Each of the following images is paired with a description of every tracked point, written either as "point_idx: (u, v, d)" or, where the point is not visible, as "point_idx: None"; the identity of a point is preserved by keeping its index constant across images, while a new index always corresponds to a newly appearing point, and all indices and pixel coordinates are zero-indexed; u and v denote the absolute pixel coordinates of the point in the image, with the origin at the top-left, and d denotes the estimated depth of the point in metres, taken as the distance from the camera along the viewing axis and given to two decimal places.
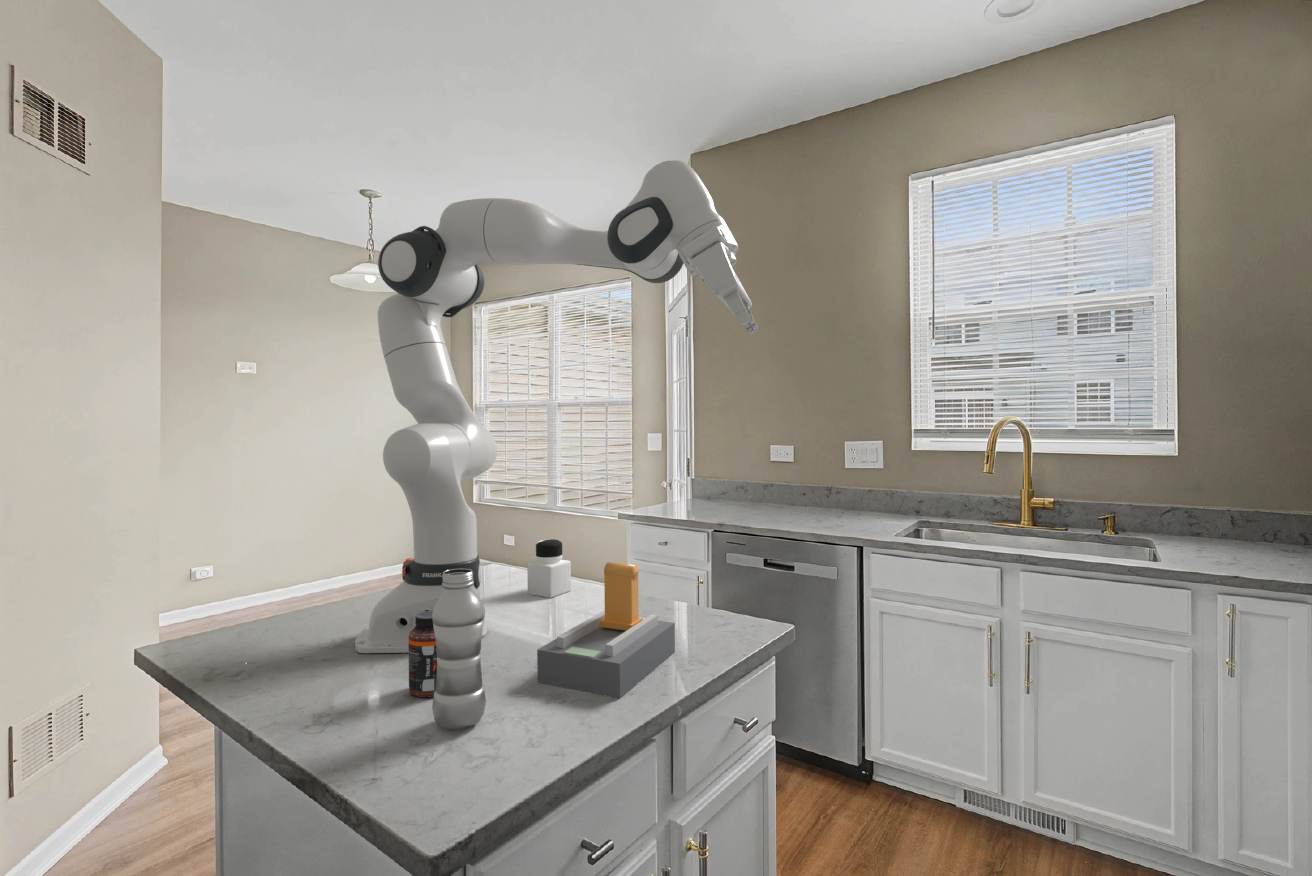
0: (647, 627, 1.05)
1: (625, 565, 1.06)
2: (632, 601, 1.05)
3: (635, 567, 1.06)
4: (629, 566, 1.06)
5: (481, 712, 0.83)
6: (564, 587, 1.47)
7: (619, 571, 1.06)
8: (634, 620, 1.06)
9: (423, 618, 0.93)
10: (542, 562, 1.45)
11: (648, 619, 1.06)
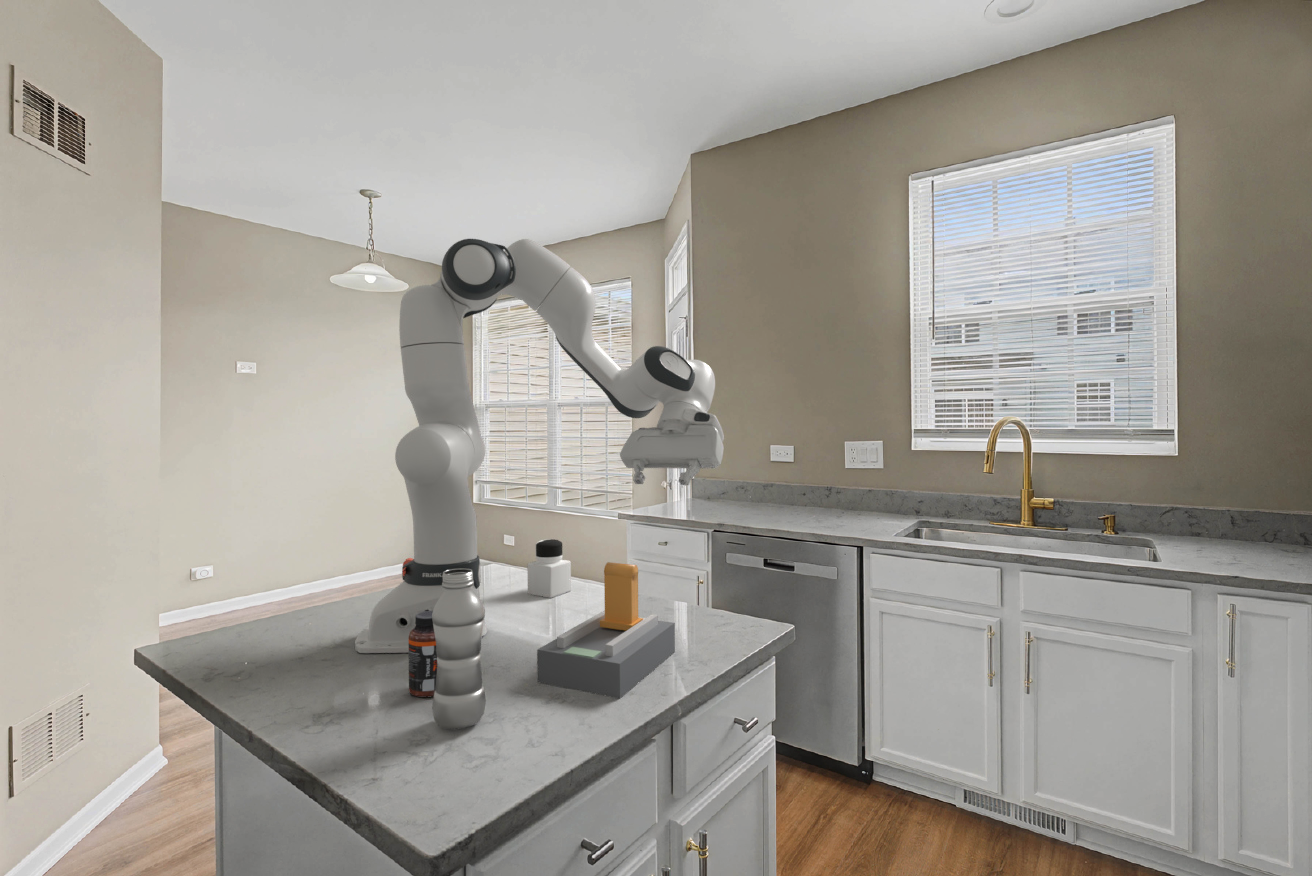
0: (647, 627, 1.05)
1: (625, 565, 1.06)
2: (632, 601, 1.05)
3: (635, 567, 1.06)
4: (629, 566, 1.06)
5: (481, 712, 0.83)
6: (564, 587, 1.47)
7: (619, 571, 1.06)
8: (634, 620, 1.06)
9: (423, 618, 0.93)
10: (542, 562, 1.45)
11: (648, 619, 1.06)
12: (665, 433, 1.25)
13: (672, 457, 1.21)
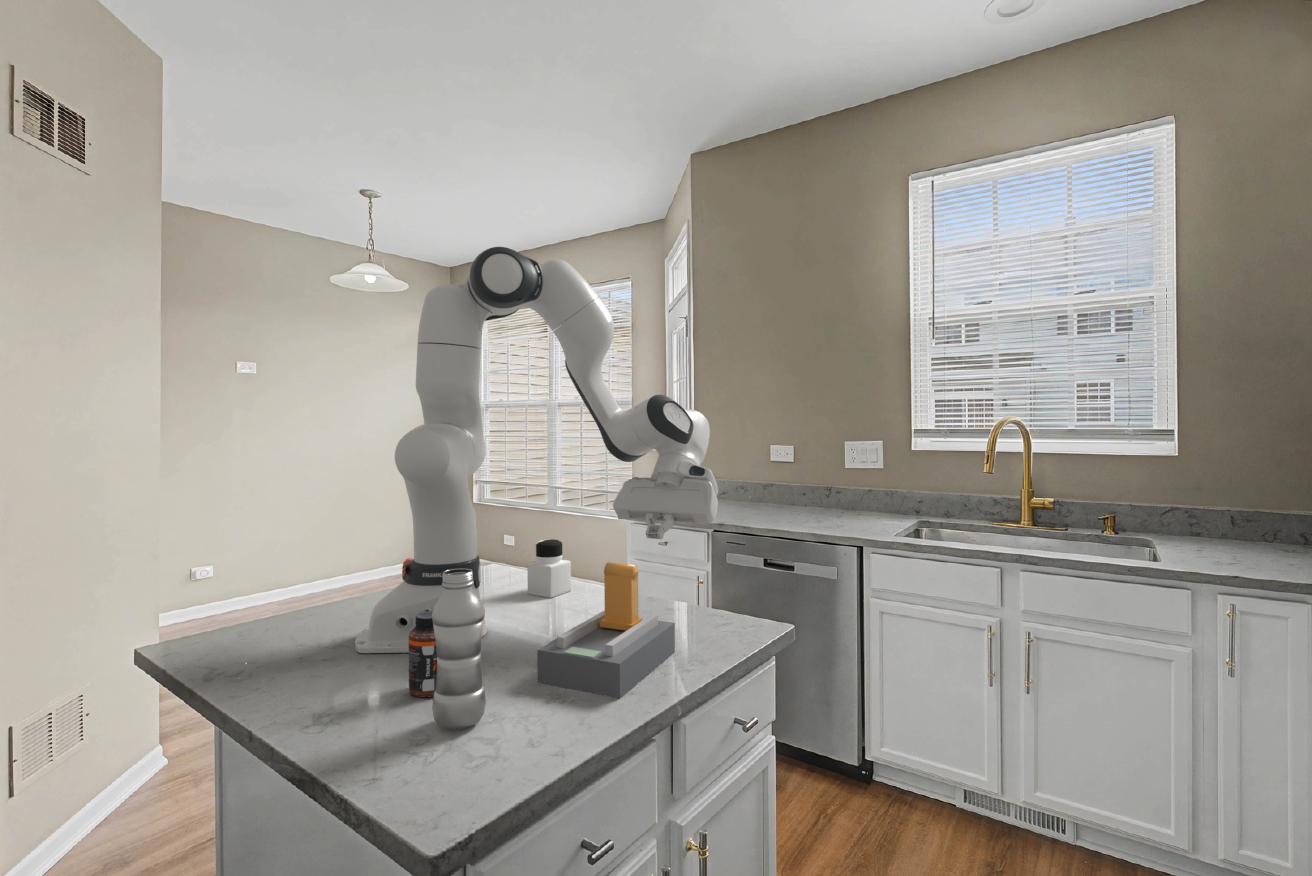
0: (647, 627, 1.05)
1: (625, 565, 1.06)
2: (632, 601, 1.05)
3: (635, 567, 1.06)
4: (629, 566, 1.06)
5: (481, 712, 0.83)
6: (564, 587, 1.47)
7: (619, 571, 1.06)
8: (634, 620, 1.06)
9: (423, 618, 0.93)
10: (542, 562, 1.45)
11: (648, 619, 1.06)
12: (659, 485, 1.25)
13: (666, 511, 1.20)
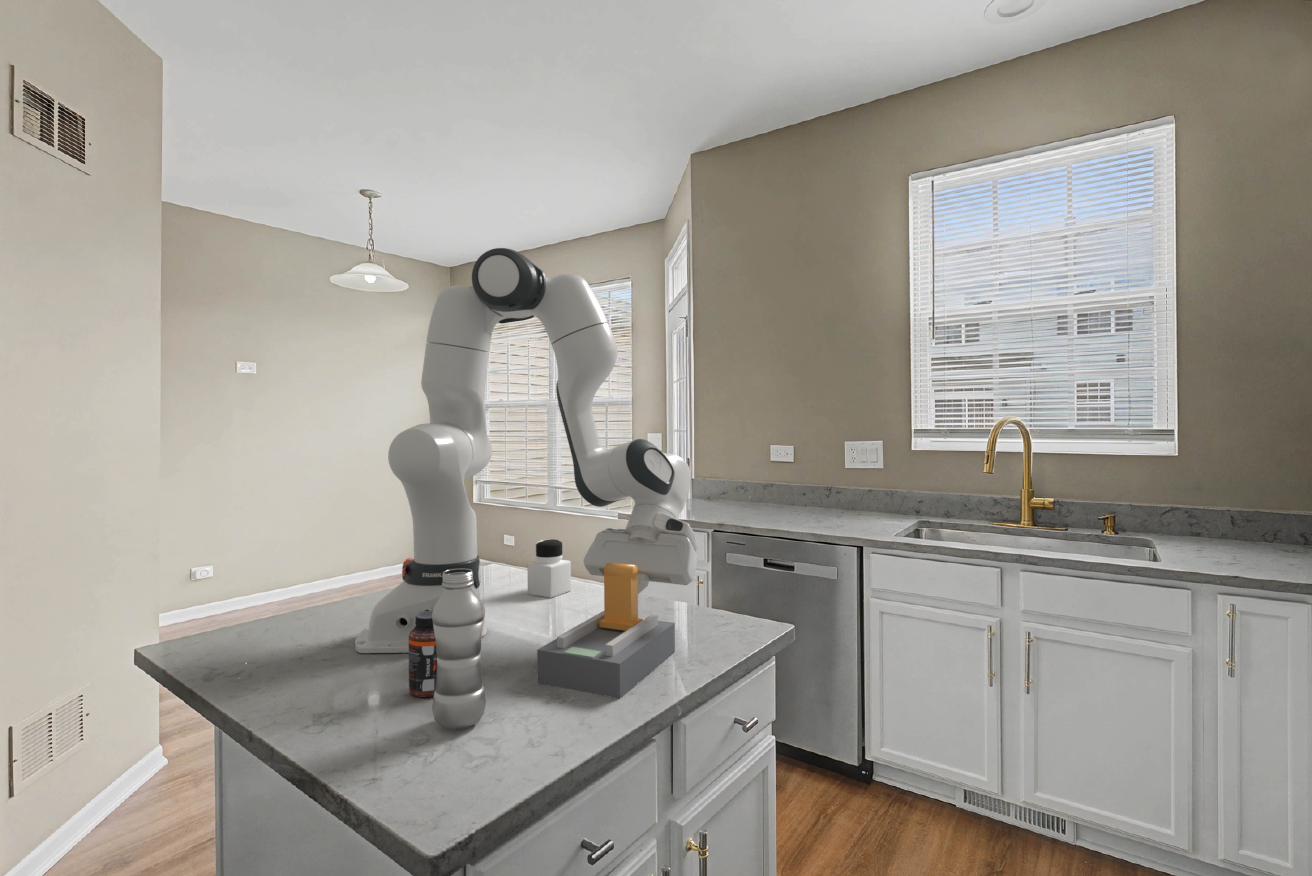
0: (647, 627, 1.05)
1: (625, 566, 1.06)
2: (632, 601, 1.05)
3: (635, 567, 1.06)
4: (629, 566, 1.06)
5: (481, 712, 0.83)
6: (564, 587, 1.47)
7: (619, 571, 1.06)
8: (634, 620, 1.06)
9: (423, 618, 0.93)
10: (542, 562, 1.45)
11: (648, 619, 1.06)
12: (634, 540, 1.14)
13: (640, 570, 1.10)
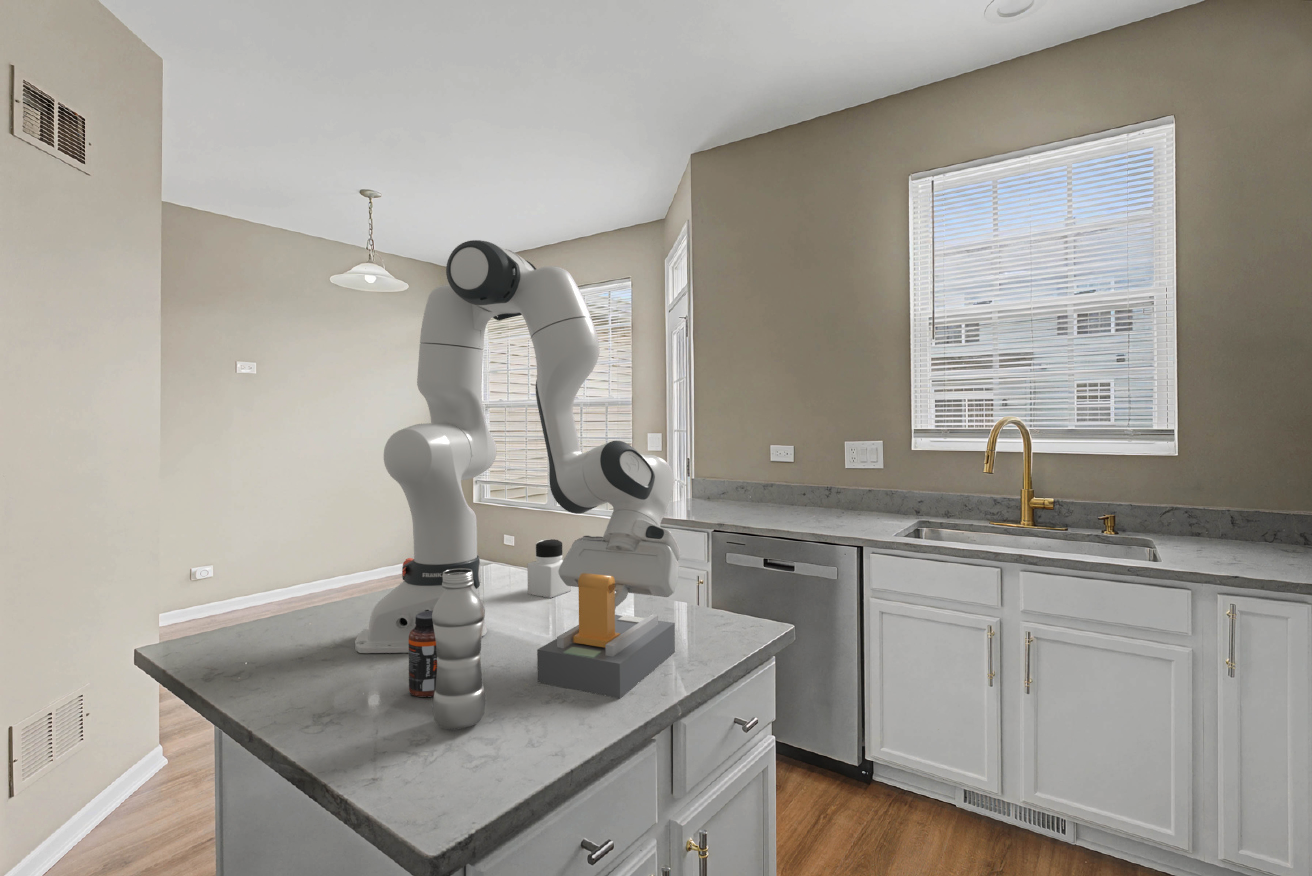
0: (647, 627, 1.05)
1: (601, 577, 0.99)
2: (608, 615, 0.98)
3: (611, 578, 0.99)
4: (605, 577, 0.98)
5: (481, 712, 0.83)
6: (564, 587, 1.47)
7: (594, 583, 0.98)
8: (610, 635, 0.99)
9: (423, 618, 0.93)
10: (542, 562, 1.45)
11: (648, 619, 1.06)
12: (612, 548, 1.07)
13: (618, 581, 1.03)
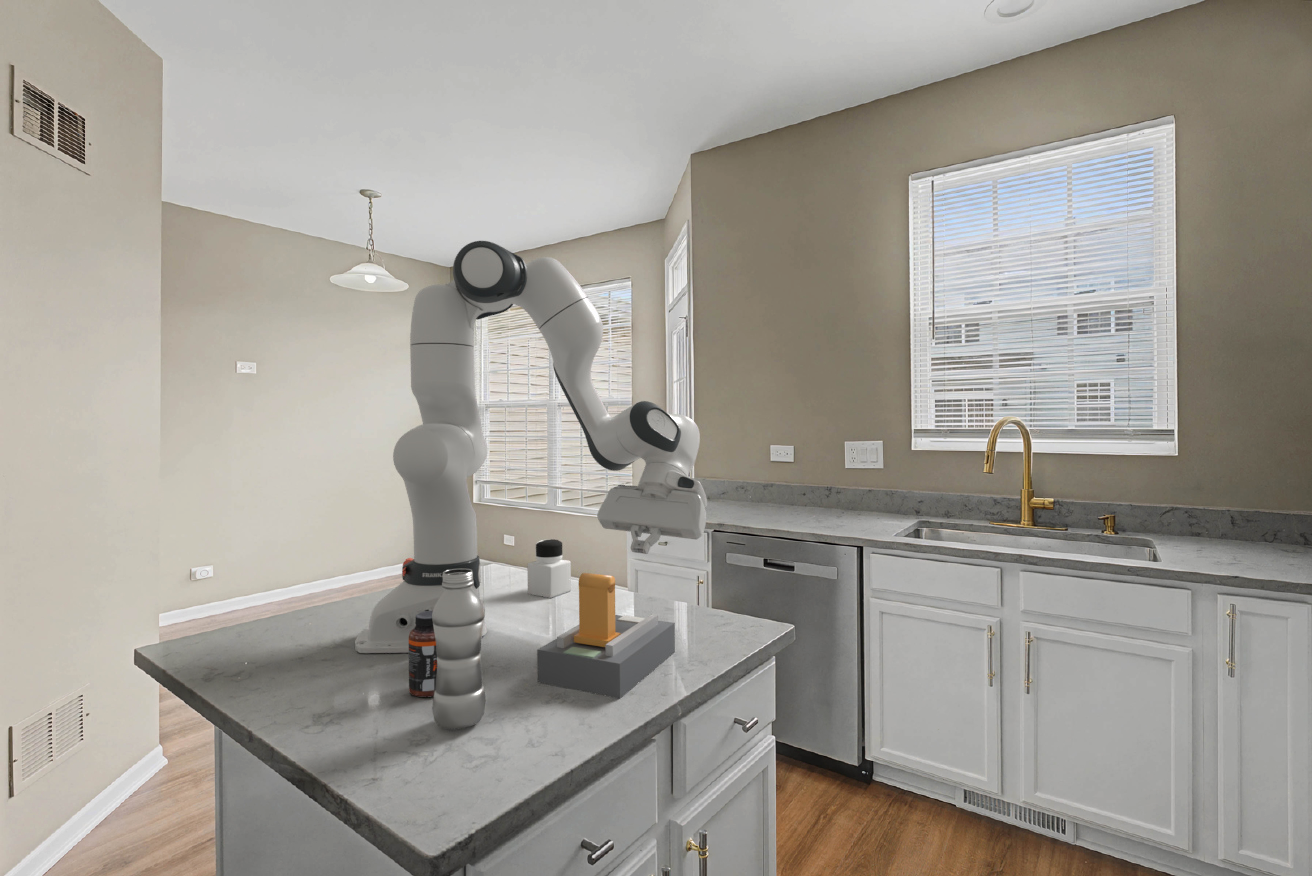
0: (647, 627, 1.05)
1: (601, 576, 0.99)
2: (608, 615, 0.98)
3: (612, 578, 0.99)
4: (605, 577, 0.98)
5: (481, 712, 0.83)
6: (564, 587, 1.47)
7: (594, 582, 0.98)
8: (611, 635, 0.99)
9: (423, 618, 0.93)
10: (542, 562, 1.45)
11: (648, 619, 1.06)
12: (646, 496, 1.20)
13: (653, 524, 1.15)
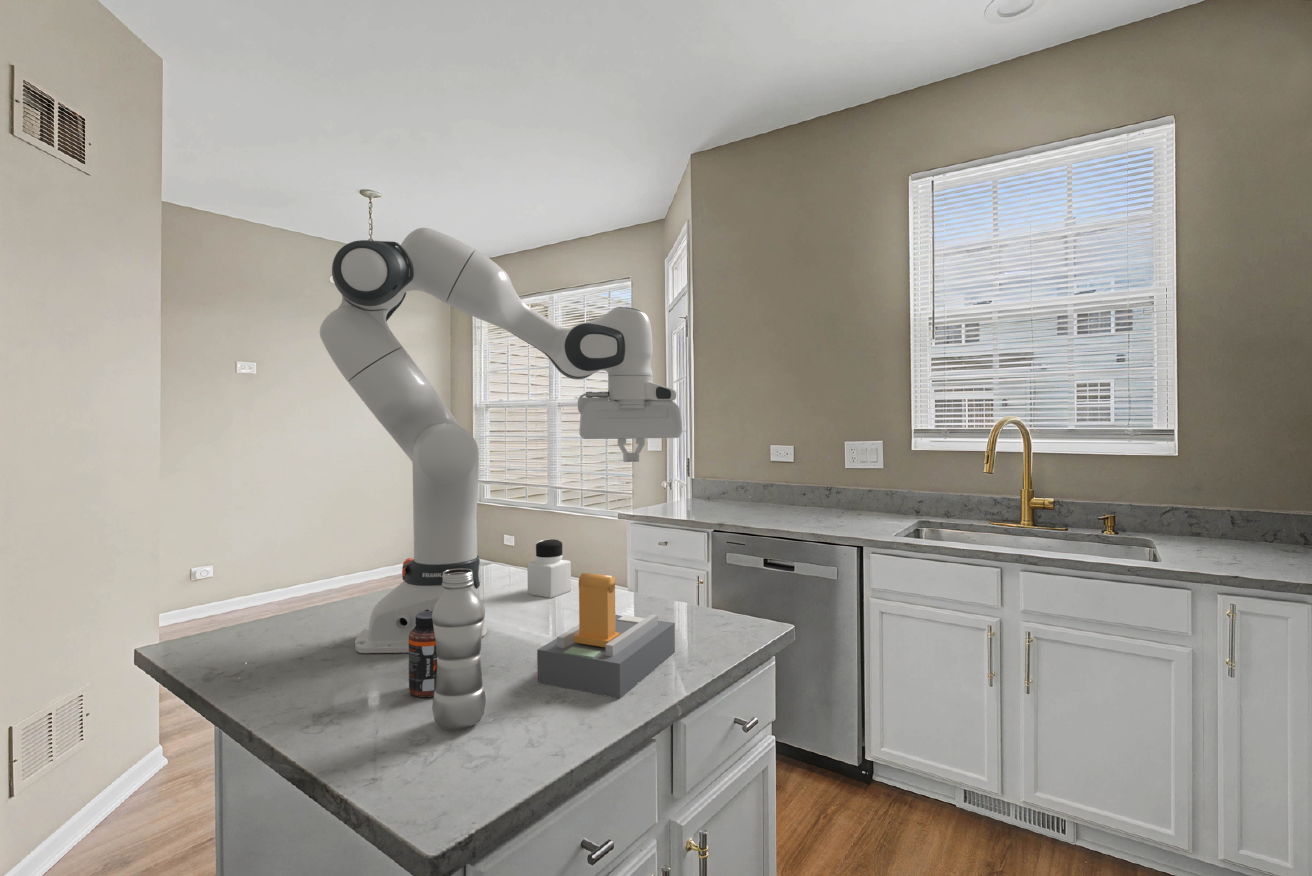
0: (647, 627, 1.05)
1: (601, 576, 0.99)
2: (608, 615, 0.98)
3: (612, 578, 0.99)
4: (605, 577, 0.98)
5: (481, 712, 0.83)
6: (564, 587, 1.47)
7: (594, 582, 0.98)
8: (611, 635, 0.99)
9: (423, 618, 0.93)
10: (542, 562, 1.45)
11: (648, 619, 1.06)
12: (625, 408, 1.25)
13: (640, 437, 1.27)
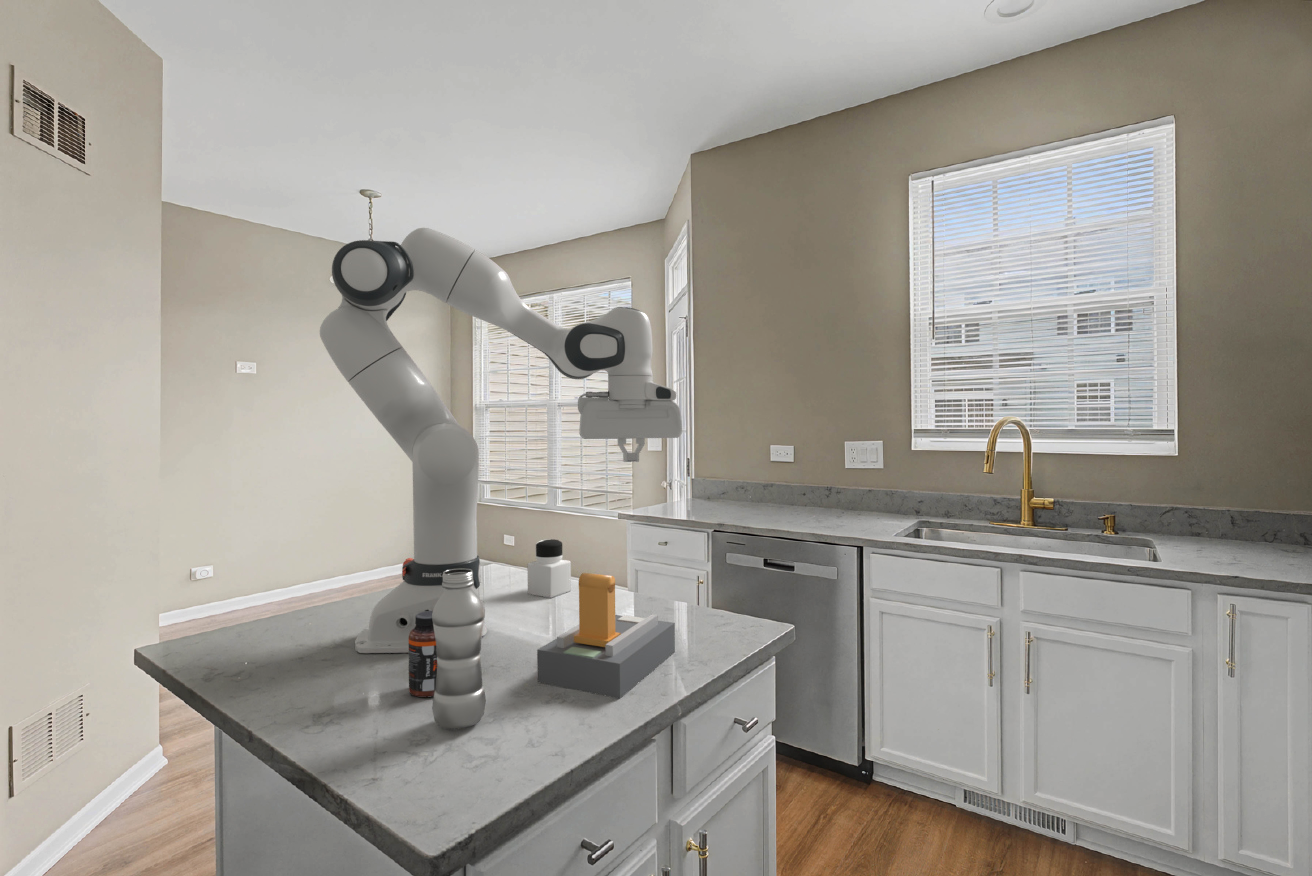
0: (647, 627, 1.05)
1: (601, 576, 0.99)
2: (608, 615, 0.98)
3: (612, 578, 0.99)
4: (605, 577, 0.98)
5: (481, 712, 0.83)
6: (564, 587, 1.47)
7: (594, 582, 0.98)
8: (611, 635, 0.99)
9: (423, 618, 0.93)
10: (542, 562, 1.45)
11: (648, 619, 1.06)
12: (625, 408, 1.25)
13: (640, 437, 1.27)
